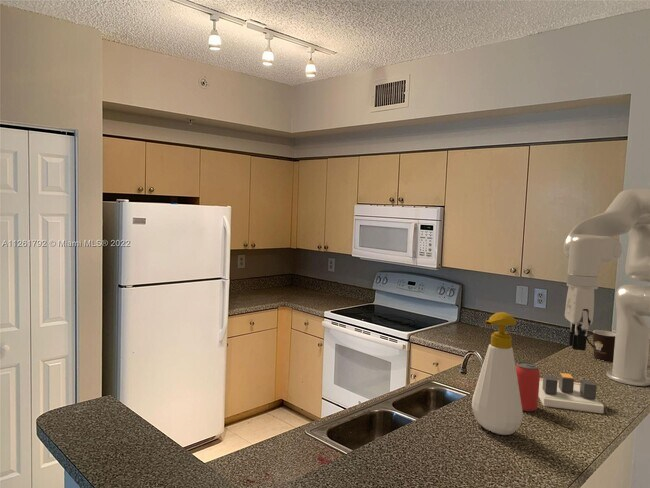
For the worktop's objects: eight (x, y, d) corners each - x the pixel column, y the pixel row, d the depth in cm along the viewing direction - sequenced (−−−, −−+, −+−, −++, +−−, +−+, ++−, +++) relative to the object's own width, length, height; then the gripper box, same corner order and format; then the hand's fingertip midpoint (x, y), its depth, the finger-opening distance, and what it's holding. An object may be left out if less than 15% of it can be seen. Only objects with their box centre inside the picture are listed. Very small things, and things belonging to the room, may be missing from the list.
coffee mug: (621, 363, 176) (624, 336, 175) (598, 362, 176) (600, 335, 175) (604, 353, 187) (606, 328, 187) (582, 352, 188) (584, 327, 187)
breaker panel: (532, 383, 150) (533, 364, 150) (584, 389, 147) (585, 369, 146) (543, 405, 133) (545, 383, 132) (603, 413, 129) (605, 390, 129)
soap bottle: (457, 425, 118) (464, 309, 116) (482, 415, 124) (490, 306, 122) (504, 447, 108) (513, 320, 106) (528, 435, 114) (537, 316, 112)
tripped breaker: (558, 386, 142) (559, 372, 141) (569, 388, 141) (570, 373, 141) (561, 391, 138) (562, 377, 138) (573, 392, 137) (574, 378, 137)
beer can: (539, 413, 127) (543, 369, 126) (513, 410, 129) (517, 367, 128) (534, 404, 134) (537, 362, 133) (509, 401, 135) (512, 359, 134)
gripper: (560, 276, 138) (555, 339, 139) (575, 284, 122) (569, 354, 124) (588, 278, 136) (583, 341, 138) (607, 287, 121) (601, 358, 122)
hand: (577, 347), depth 131 cm, fingers open, 2 cm apart
